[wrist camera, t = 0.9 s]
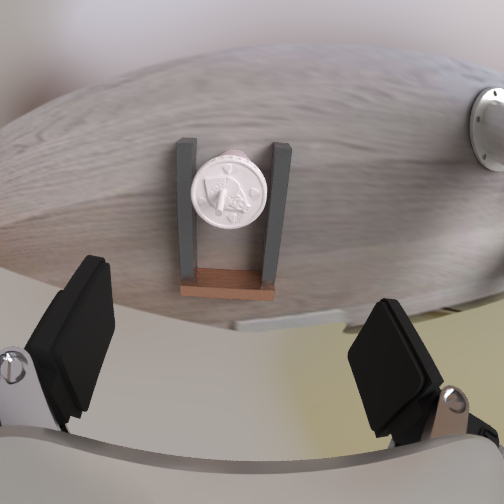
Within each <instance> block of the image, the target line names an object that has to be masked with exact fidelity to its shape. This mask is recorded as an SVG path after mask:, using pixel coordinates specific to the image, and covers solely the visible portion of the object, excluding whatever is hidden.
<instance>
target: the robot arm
mask: <svg viewBox="0 0 504 504" xmlns="http://www.w3.org/2000/svg"><path fill="white" fill-rule="evenodd" d="M469 128H470V139H471V144H472V147H473V151H474V153H475V155H476V157H477V159H478V160H479V161H480V163H481V164H482V165H483V166H485V167H486V168H488V169H490V170H492V171H495V172H502V171H504V89H502V88H498V87H490V88H487V89H485V90H484V91H482V92H481V93H480V94H479V96H478V97H477V99H476V100H475V102H474V105H473V108H472V111H471V116H470V126H469ZM114 329H115V318H114V310H113V299H112V288H111V274H110V265H109V263H105V259H104V258H103V257H97V256H92V255H87V256H86V257H85V259H84V260H83V262H82V263H81V265H80V266H79V267H78V269H77V270H76V272H75V273H74V275H73V276H72V278H71V279H70V281H69V282H68V284H67V285H66V287H65V288H64V290H60V291H59V292H58V293H57V294H56V296H55V297H54V299H53V300H52V302H51V304H50V305H49V307H48V308H47V310H46V312H45V313H44V315H43V317H42V318H41V320H40V322H39V323H38V325H37V327H36V328H35V330H34V332H33V334H32V335H31V337H30V339H29V341H28V342H27V344H26V346H25V348H24V349H22V348H20V347H14V346H12V347H7V348H4V349H2V350H0V504H504V448H503V446H502V445H499V438H498V434H497V432H496V430H495V429H493V428H492V427H491V426H490V425H488V424H486V423H484V422H483V421H482V420H480V419H479V418H477V417H475V416H474V415H472V414H471V413H469V402H468V399H467V397H466V396H465V394H464V393H463V392H462V391H461V390H460V389H459V388H456V387H454V386H450V385H448V386H445V387H444V388H443V389H442V390H440V388H439V386H440V385H441V384H442V383H443V382H444V380H443V378H442V376H441V375H440V373H439V371H438V369H437V367H436V365H435V363H434V361H433V360H432V358H431V356H430V354H429V353H428V351H427V349H426V347H425V345H424V343H423V342H422V340H421V338H420V336H419V335H418V333H417V332H416V330H415V328H414V326H413V325H412V323H411V321H410V320H409V318H408V316H407V315H406V313H405V311H404V310H403V308H402V306H401V305H400V303H399V302H398V301H397V300H395V299H386V298H383V299H381V300H380V302H377V303H376V305H375V306H374V308H373V310H372V312H371V314H370V315H369V317H368V319H367V321H366V322H365V324H364V326H363V327H362V329H361V331H360V333H359V334H358V336H357V338H356V339H355V341H354V343H353V344H352V346H351V347H350V349H349V351H348V361H349V363H350V366H351V369H352V372H353V375H354V378H355V381H356V384H357V387H358V390H359V393H360V396H361V399H362V402H363V405H364V408H365V411H366V415H367V418H368V421H369V424H370V427H371V429H372V430H373V431H374V432H375V435H376V438H379V437H385V436H388V435H389V434H391V435H392V439H391V441H390V444H389V446H388V449H384V450H379V451H374V452H368V453H362V454H356V455H349V456H340V457H332V458H323V459H311V460H296V461H228V460H211V459H200V458H190V457H182V456H174V455H167V454H161V453H155V452H149V451H144V450H138V449H132V448H128V447H123V446H118V445H113V444H109V443H105V442H101V441H97V440H93V439H89V438H86V437H81V436H77V435H73V434H71V433H70V431H69V429H68V427H67V425H66V423H68V422H69V419H70V416H73V417H76V418H79V419H80V418H81V414H82V411H84V412H86V411H87V410H88V408H89V404H90V401H91V398H92V394H93V391H94V388H95V385H96V382H97V379H98V375H99V373H100V370H101V367H102V364H103V361H104V358H105V355H106V352H107V350H108V347H109V344H110V341H111V338H112V336H113V333H114Z"/></svg>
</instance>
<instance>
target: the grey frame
mask: <svg viewBox="0 0 504 504" xmlns="http://www.w3.org/2000/svg"><path fill="white" fill-rule="evenodd" d="M196 144H197V138H182V139H180V140H179V141H178V142H177V143H176V173H177V213H178V235H179V253H180V268H181V284H180V291H181V296H193V297H208V298H225V299H244V300H267V301H273V299H274V293H275V288H274V284H275V277H276V270H277V263H278V256H279V248H280V241H281V234H282V226H283V219H284V211H285V203H286V195H287V187H288V179H289V171H290V163H291V154H292V148H291V147H290V145H289V144H288V143H279V142H274V144H273V155H272V165H271V175H270V185H269V195H268V205H267V214H266V224H265V234H264V243H263V253H262V262H261V271H242V270H223V269H206V268H197V245H196V210H195V209H194V206H193V204H192V200H191V186H192V183H193V179H194V177H195V175H196Z"/></svg>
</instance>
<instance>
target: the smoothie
mask: <svg viewBox="0 0 504 504" xmlns="http://www.w3.org/2000/svg"><path fill="white" fill-rule="evenodd" d="M191 200H192V204H193V206H194V209H195V210H196V212H197V213H198V215H199V216H200V217H201V218H202V219H203V220H204V221H206V222H207V223H209V224H210V225H212V226H215V227H218V228H222V229H237V228H241V227H244V226H246V225H248V224H250V223H251V222H253V221H254V220H255V219H256V218H257V217H258V216H259V215H260V214H261V212H262V211H263V209H264V207H265V204H266V200H267V185H266V180H265V178H264V176H263V174H262V172H261V171H260V169H259V168H258V167H257V166H256V165H255V164H254V163H252V162H251V161H250V160H249V158H248V157H247V155H246V154H245V153H243V152H242V151H239V150H235V149H232V150H228V151H225V152H224V153H222V154H221V155H220V156H219V157H216V158H213V159H211V160H210V161H208V162H206V163H205V164H204V165H203V166H202V167H201V168H200V169H199V170H198V172H197V173H196V175H195V177H194V179H193V183H192V186H191Z"/></svg>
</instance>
